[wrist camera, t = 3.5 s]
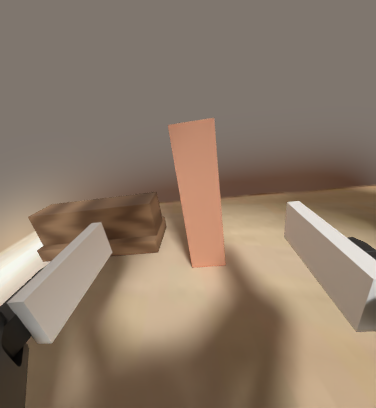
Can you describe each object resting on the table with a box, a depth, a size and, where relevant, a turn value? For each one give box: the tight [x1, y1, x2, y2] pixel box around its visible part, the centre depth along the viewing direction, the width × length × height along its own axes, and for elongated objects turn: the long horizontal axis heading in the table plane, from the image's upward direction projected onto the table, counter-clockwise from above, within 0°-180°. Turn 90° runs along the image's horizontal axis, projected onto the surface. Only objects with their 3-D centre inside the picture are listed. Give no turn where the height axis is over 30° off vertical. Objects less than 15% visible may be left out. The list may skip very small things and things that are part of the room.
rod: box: [168, 118, 226, 268], centre depth 21 cm, size 4×4×16 cm
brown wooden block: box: [28, 192, 166, 262], centre depth 29 cm, size 18×7×7 cm, turn 87°
